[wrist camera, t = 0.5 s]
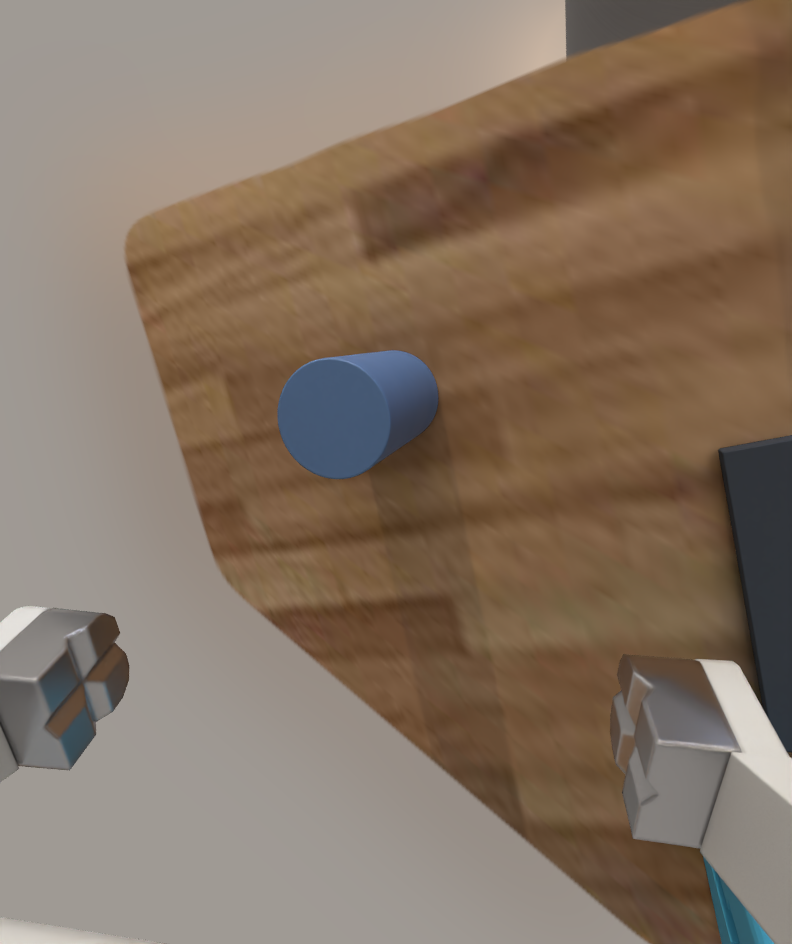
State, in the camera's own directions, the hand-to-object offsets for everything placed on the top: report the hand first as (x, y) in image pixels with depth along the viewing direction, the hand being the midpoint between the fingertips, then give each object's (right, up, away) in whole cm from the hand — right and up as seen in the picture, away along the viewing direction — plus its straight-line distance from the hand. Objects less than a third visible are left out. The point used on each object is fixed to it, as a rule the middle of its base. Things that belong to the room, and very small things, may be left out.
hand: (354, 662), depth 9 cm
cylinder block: (+1, +8, +26) cm, 28 cm away
